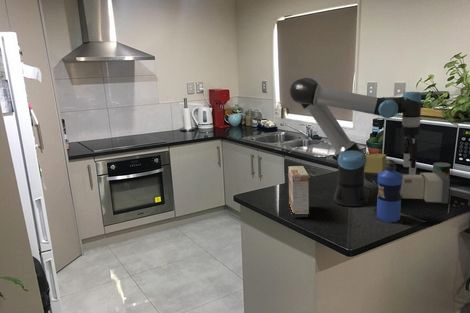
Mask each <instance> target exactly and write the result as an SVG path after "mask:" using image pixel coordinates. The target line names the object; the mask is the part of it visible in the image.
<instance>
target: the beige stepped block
mask: <svg viewBox="0 0 470 313" xmlns="http://www.w3.org/2000/svg"><path fill="white" fill-rule="evenodd" d="M419 173H420V174H419V175H422V176H423V177H424V178H425V182H424V197H423V200H424V201H425V202H426V203H441V204H449V198H450V185H451V183H450V182H451V179H450V178H448V177H447V176H446V175H445V174H444V173H443V172H441V171H440V170H434V173H433V172H419Z"/></svg>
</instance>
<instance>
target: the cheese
mask: <svg viewBox="0 0 470 313" xmlns="http://www.w3.org/2000/svg"><path fill="white" fill-rule="evenodd" d="M365 155H366V165H365V169H364V173H367V174H368V173H369V174H378V173H380V172H382V171H384V170H385V165H386V163H385V162H386V161H387V154H385V153H373V154H372V153H371V154H365Z"/></svg>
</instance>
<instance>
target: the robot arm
mask: <svg viewBox="0 0 470 313" xmlns="http://www.w3.org/2000/svg"><path fill="white" fill-rule="evenodd" d="M289 96H290V98H291V99H292V101H294V102H295V103H297V104H300V105H301V107H302V108H303V109H304V110H305V111H308V112H309V113H310V115H311V116H312V117H313V119H314V120H315V122H316V124H317V125H318V127H319V128H320V130H321V131H322V132H323V134H324V135H325V137H326V138H327V139H328V141H329V142H330V144H331V146H332V147H333V149H334V156H335V157H336V158H337V175H338V176H337V186H336V190H335V193H334V195H333V201H334V200H335V201H336V202H337V203H340V204H343V205H347V206H359V207H363V206H362V205H364V206H365V204H366V205H367V204H368V195H367V192H366V189H365V170H364V169H365V165H366V155H367V154H366V153H365V151H364V150H363V149H362V148H360V147H359V146H358V143H357V142H356V141H353V140H351V139H350V138H349V136H348V135H347V134H346V132H345V130H344V129H343V128H342V126H341V124H340V123H339V122H338V120H337V119H336V117H335V116H334V114H333V113H332V111H331V110H330V108H329V107H334V108H338V109H344V110H349V111H355V112H360V113H364V114H371V115H375V116H378V117H379V116H380V117H381V118H382V117H383V118H385V119H391V118H393V117H395V116H396V115H397V114H402V116H401V125H402V127H401V135H403V136H404V139H403V140H404V142H403V148H402V151H403V165H402V166H403V168H408V175H417V161H418V160H419V158H418V157H419V156H418V143H417V142H418V139H417V138H415V137H416V136H418V135H420V134H421V126H420V125H421V121H422V120H423V119H422V118H421V114H422V93H421V92H420V91H405V92H403V94H402V96H393V97H392V96H388V97H385V96H383V97H376V96H370V95H367V94H366V95H365V94H360V93H355V92H350V91H345V90H344V91H343V90H338V89H333V88H328V87H322V86H321V84H319V83H318V82H317V81H316V80H315V79H313V78H311V77H303V78H298V79H296V80H294V82H292V84H291V85H290V89H289ZM328 106H329V107H328ZM347 206H346V207H347Z"/></svg>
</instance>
